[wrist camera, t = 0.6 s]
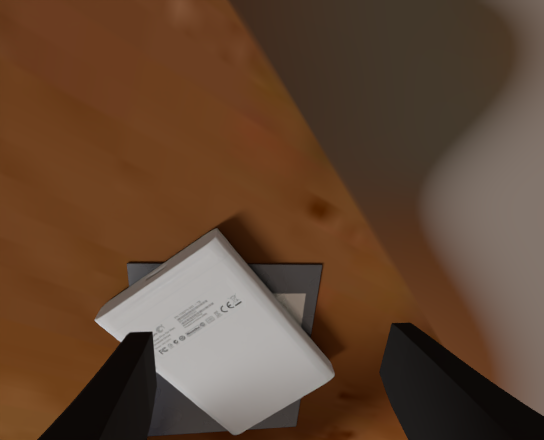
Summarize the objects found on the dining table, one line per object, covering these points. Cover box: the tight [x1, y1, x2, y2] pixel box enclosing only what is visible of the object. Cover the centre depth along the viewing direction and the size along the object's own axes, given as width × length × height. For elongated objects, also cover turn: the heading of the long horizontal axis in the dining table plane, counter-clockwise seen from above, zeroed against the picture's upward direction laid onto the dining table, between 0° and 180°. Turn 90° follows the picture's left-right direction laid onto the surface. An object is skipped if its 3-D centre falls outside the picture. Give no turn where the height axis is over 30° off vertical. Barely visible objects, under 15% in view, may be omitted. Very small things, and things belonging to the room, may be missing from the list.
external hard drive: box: [95, 228, 335, 435], centre depth 20 cm, size 2×8×12 cm
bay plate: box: [127, 263, 322, 436], centre depth 22 cm, size 14×11×1 cm
